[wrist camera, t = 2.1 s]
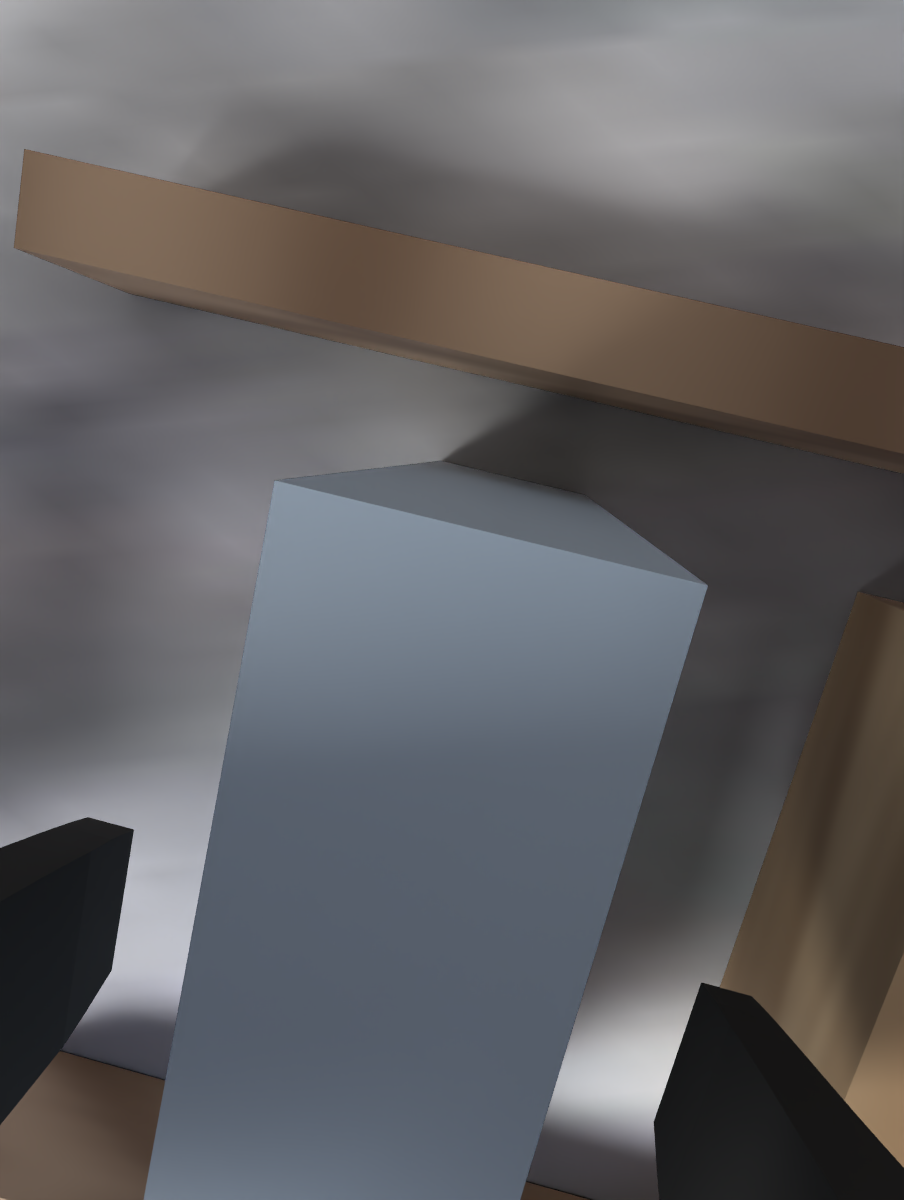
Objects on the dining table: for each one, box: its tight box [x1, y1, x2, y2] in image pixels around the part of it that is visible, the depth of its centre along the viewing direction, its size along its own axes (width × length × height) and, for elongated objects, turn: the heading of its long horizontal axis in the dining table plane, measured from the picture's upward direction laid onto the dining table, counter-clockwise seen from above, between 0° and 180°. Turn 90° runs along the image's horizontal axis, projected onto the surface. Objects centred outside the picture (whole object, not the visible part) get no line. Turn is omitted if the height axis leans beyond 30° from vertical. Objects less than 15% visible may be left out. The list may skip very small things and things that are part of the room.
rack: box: [0, 149, 904, 1200], centre depth 13 cm, size 22×17×3 cm
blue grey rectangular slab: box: [144, 461, 708, 1200], centre depth 10 cm, size 2×12×9 cm, turn 167°
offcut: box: [720, 592, 904, 1167], centre depth 12 cm, size 2×11×4 cm, turn 167°
